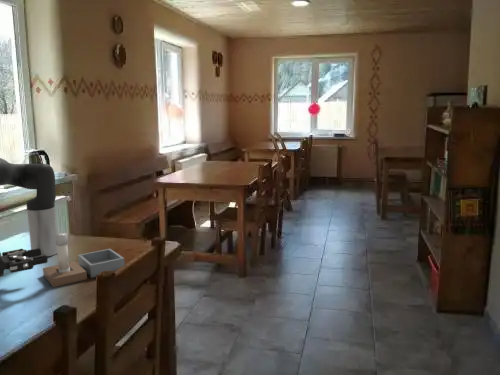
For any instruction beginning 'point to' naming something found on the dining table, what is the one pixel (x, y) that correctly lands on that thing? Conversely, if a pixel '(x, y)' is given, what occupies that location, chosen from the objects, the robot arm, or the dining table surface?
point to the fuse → (62, 252)
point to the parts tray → (100, 261)
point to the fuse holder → (64, 274)
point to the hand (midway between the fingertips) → (43, 255)
